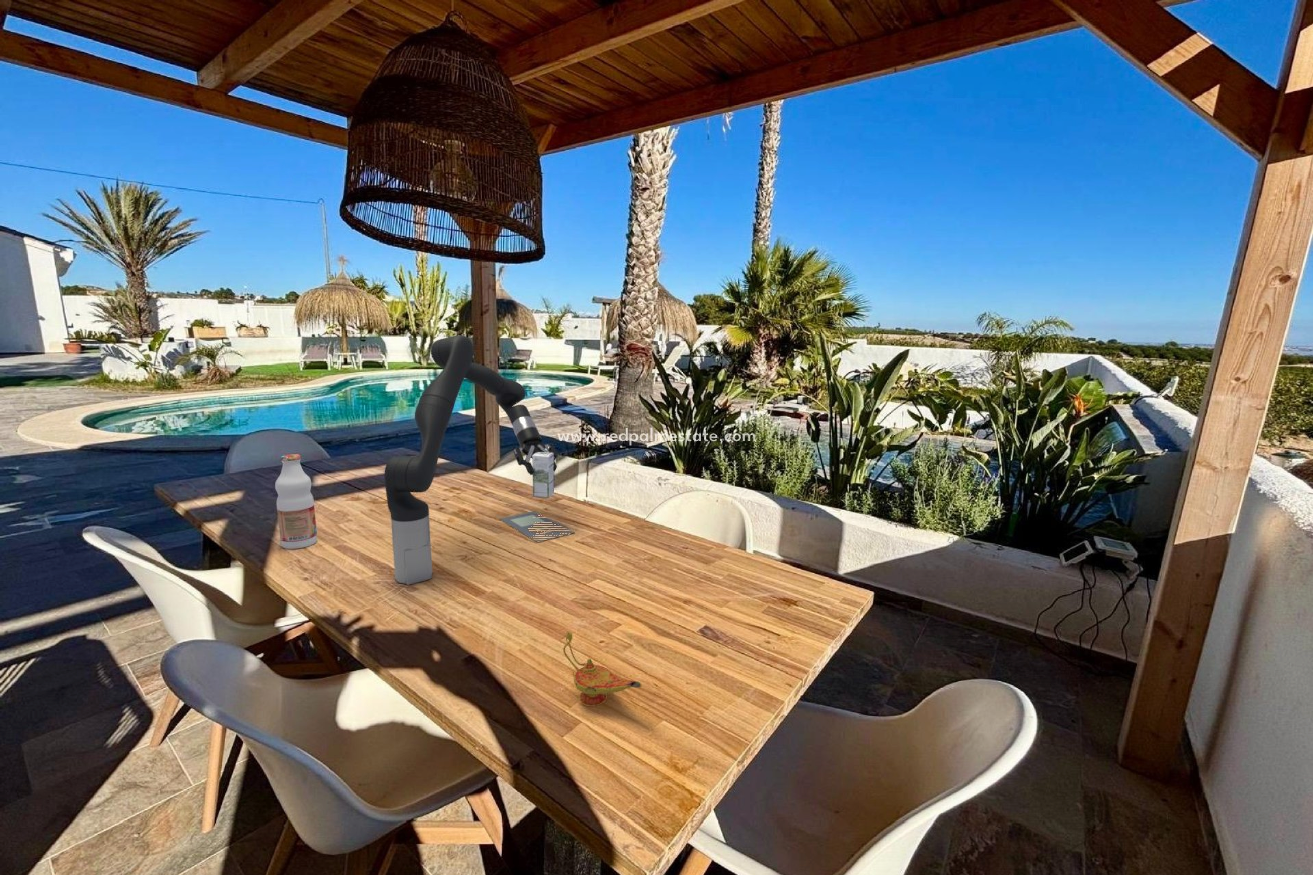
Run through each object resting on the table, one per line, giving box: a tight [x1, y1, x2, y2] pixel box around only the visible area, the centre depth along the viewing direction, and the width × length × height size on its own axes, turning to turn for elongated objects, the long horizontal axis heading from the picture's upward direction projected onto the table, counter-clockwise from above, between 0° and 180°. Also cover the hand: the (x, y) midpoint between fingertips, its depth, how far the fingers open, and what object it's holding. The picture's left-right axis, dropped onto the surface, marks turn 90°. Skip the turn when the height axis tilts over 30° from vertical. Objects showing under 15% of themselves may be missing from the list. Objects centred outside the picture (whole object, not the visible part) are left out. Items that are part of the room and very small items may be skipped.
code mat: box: [498, 511, 576, 542], centre depth 184 cm, size 28×14×1 cm, turn 41°
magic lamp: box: [562, 631, 642, 707], centre depth 95 cm, size 7×18×11 cm, turn 56°
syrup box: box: [531, 452, 555, 499], centre depth 176 cm, size 6×6×14 cm
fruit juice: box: [274, 453, 318, 550], centre depth 161 cm, size 9×9×28 cm
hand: (543, 471), depth 176 cm, fingers closed on syrup box, 8 cm apart
